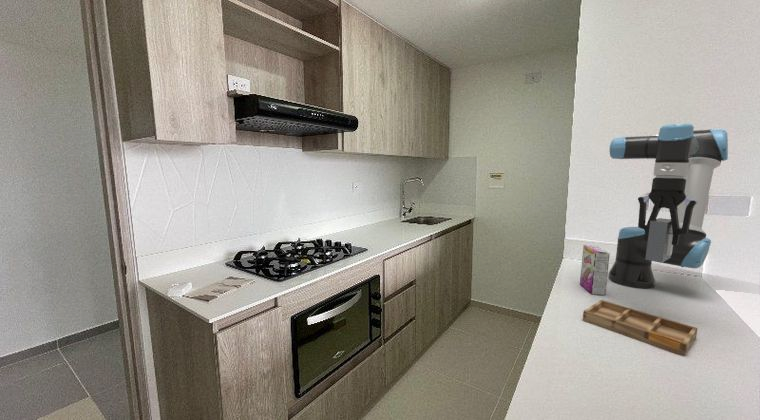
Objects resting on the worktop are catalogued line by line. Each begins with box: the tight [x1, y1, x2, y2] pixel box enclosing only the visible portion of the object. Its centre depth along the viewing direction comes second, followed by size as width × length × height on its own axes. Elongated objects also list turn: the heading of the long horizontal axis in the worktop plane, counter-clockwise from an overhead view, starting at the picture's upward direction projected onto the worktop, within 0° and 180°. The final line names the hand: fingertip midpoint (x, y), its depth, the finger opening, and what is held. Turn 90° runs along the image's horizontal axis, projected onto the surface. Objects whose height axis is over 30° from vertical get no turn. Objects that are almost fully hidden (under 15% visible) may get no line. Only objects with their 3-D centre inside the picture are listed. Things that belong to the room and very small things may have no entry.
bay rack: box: [582, 299, 698, 357], centre depth 93 cm, size 15×23×3 cm, turn 37°
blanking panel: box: [645, 217, 673, 264], centre depth 98 cm, size 10×4×12 cm, turn 127°
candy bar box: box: [579, 244, 611, 296], centre depth 122 cm, size 11×5×16 cm, turn 168°
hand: (658, 253), depth 99 cm, fingers closed on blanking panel, 4 cm apart
